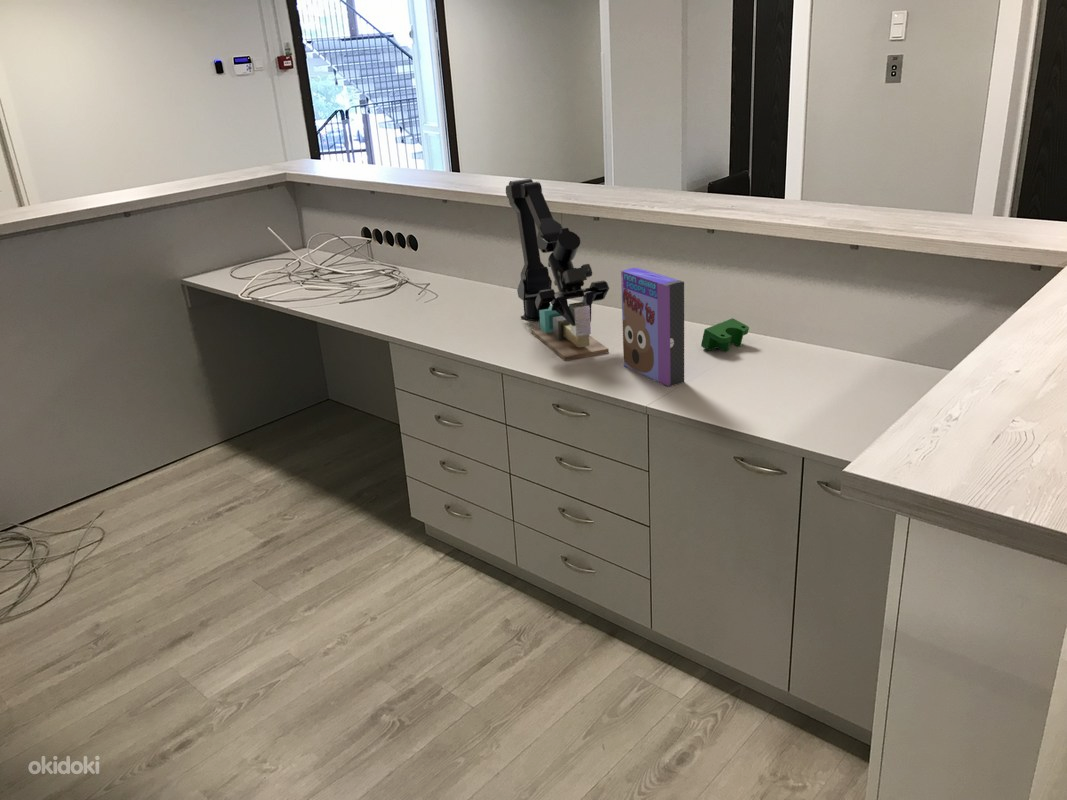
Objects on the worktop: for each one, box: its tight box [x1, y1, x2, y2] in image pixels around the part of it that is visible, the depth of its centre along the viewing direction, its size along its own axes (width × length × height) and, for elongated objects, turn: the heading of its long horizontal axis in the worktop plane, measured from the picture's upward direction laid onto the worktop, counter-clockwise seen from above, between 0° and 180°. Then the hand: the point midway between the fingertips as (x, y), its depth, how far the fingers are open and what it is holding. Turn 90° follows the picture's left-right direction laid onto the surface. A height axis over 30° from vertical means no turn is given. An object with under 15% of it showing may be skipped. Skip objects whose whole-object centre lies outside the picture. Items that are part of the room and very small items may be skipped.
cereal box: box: [620, 267, 685, 388], centre depth 204 cm, size 17×5×24 cm, turn 29°
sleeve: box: [553, 316, 568, 341], centre depth 233 cm, size 4×5×5 cm
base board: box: [530, 327, 610, 362], centre depth 233 cm, size 26×12×1 cm, turn 20°
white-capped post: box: [561, 301, 592, 347], centre depth 228 cm, size 16×4×10 cm, turn 20°
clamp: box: [700, 318, 750, 353], centre depth 221 cm, size 12×6×9 cm, turn 124°
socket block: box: [539, 305, 562, 333], centre depth 240 cm, size 4×7×6 cm, turn 110°
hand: (582, 323), depth 221 cm, fingers closed on white-capped post, 4 cm apart
